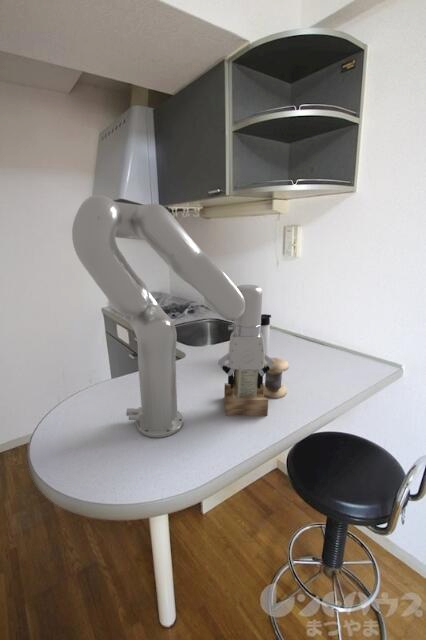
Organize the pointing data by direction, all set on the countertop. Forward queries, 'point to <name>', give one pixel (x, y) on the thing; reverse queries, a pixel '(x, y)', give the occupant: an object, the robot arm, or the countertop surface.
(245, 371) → the skincare box
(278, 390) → the bobbin
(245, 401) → the walnut stepped block
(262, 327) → the travel mug
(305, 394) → the countertop surface
